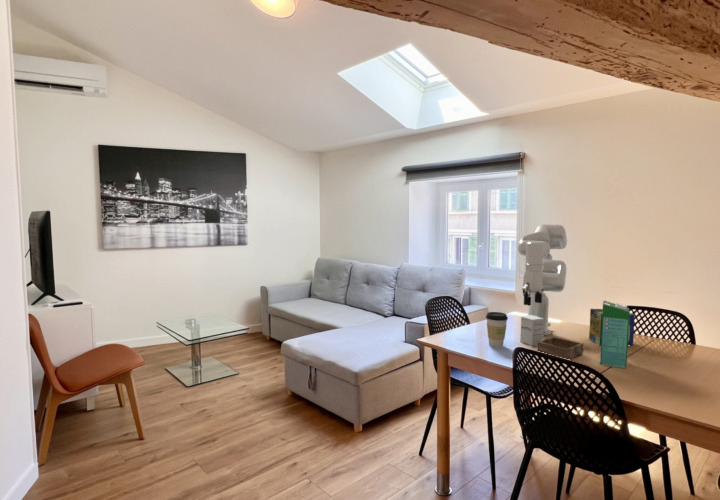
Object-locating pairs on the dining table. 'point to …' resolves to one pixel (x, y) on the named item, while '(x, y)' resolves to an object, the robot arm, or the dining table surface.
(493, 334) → the coffee cup
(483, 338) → the dining table surface
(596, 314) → the protein box
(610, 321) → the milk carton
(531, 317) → the supplement box
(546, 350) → the bin
